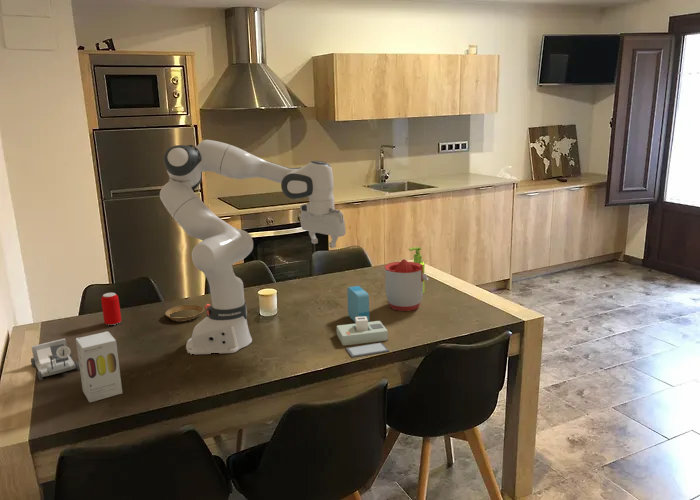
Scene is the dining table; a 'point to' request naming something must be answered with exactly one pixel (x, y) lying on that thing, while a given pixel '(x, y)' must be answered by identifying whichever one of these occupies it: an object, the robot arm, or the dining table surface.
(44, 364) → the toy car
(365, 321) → the plug
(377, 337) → the socket strip
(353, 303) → the blue rounded block
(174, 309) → the plant saucer
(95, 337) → the supplement box
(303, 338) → the dining table surface
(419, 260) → the soap dispenser
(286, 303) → the dining table surface
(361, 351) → the phone
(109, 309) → the beverage can
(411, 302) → the citrus juicer
